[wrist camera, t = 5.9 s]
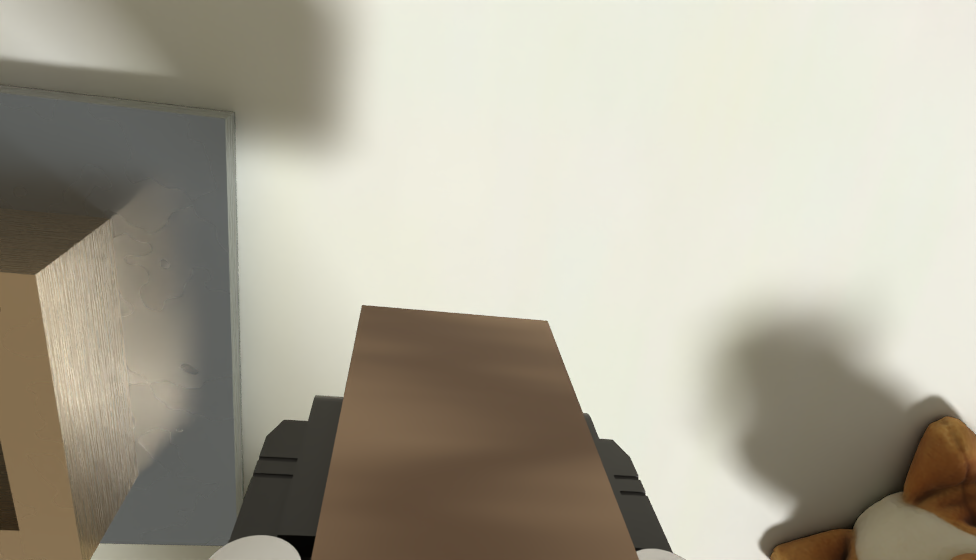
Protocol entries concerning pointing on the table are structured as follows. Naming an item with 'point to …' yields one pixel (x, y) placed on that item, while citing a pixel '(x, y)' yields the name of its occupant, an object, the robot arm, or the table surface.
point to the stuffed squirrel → (912, 509)
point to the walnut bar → (464, 448)
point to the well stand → (117, 325)
